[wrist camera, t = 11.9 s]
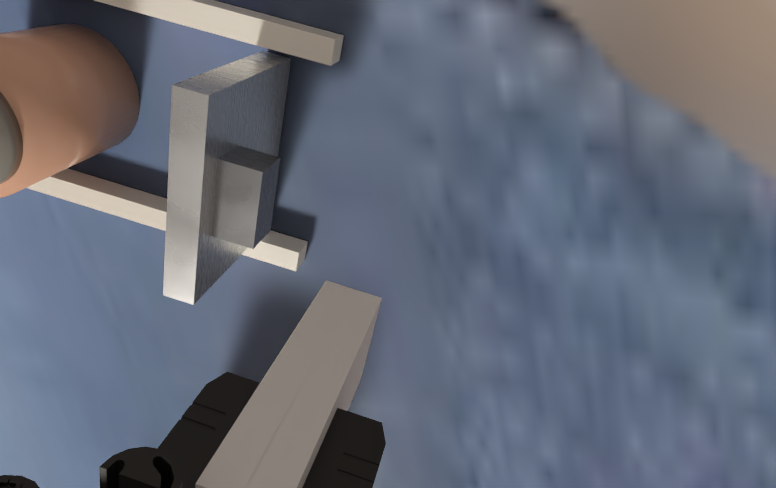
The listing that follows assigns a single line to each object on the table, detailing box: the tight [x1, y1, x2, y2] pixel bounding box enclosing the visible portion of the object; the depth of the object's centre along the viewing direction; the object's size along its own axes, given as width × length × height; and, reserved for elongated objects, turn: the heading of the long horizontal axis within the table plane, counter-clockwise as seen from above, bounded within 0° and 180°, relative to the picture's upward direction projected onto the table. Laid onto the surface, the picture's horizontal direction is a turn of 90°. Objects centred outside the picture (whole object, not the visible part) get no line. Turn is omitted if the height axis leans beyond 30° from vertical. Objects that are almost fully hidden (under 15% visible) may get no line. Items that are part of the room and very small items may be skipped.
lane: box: [26, 0, 344, 271], centre depth 25 cm, size 25×10×4 cm, turn 78°
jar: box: [0, 23, 140, 197], centre depth 24 cm, size 6×6×7 cm
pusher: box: [163, 51, 291, 305], centre depth 23 cm, size 3×8×7 cm, turn 168°
